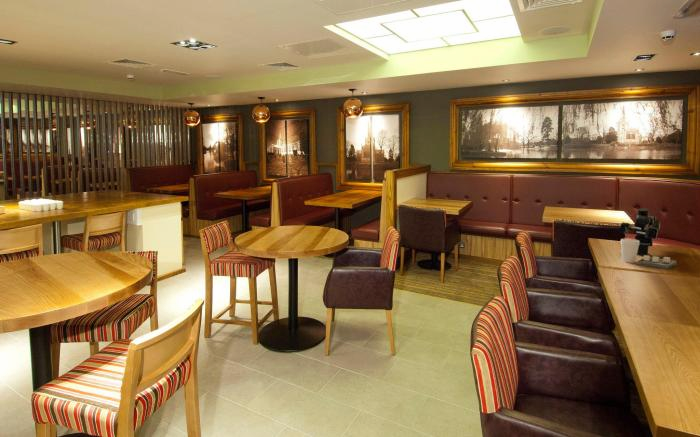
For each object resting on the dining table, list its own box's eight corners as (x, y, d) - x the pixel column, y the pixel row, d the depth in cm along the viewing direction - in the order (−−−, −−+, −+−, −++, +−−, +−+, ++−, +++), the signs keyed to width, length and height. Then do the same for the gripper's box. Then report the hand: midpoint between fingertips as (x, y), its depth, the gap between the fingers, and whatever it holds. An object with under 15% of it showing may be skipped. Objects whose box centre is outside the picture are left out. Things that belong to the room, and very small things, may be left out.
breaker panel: (646, 259, 262) (646, 256, 262) (676, 264, 251) (676, 260, 250) (637, 264, 252) (637, 261, 252) (668, 269, 241) (668, 265, 240)
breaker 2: (664, 261, 249) (664, 256, 249) (669, 262, 247) (670, 257, 247) (663, 261, 248) (663, 257, 247) (668, 262, 246) (669, 258, 246)
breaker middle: (653, 260, 251) (653, 256, 250) (658, 261, 249) (659, 257, 249) (652, 261, 249) (652, 257, 249) (657, 262, 247) (658, 257, 247)
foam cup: (632, 259, 263) (634, 238, 261) (641, 263, 254) (643, 241, 252) (616, 259, 264) (617, 238, 262) (624, 263, 255) (625, 241, 253)
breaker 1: (644, 259, 254) (644, 255, 254) (649, 260, 252) (650, 255, 252) (643, 260, 253) (643, 255, 252) (648, 260, 251) (648, 256, 250)
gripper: (626, 211, 269) (619, 218, 259) (662, 217, 257) (656, 225, 246) (623, 228, 273) (616, 236, 263) (658, 234, 261) (653, 243, 250)
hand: (635, 234), depth 255 cm, fingers open, 9 cm apart
